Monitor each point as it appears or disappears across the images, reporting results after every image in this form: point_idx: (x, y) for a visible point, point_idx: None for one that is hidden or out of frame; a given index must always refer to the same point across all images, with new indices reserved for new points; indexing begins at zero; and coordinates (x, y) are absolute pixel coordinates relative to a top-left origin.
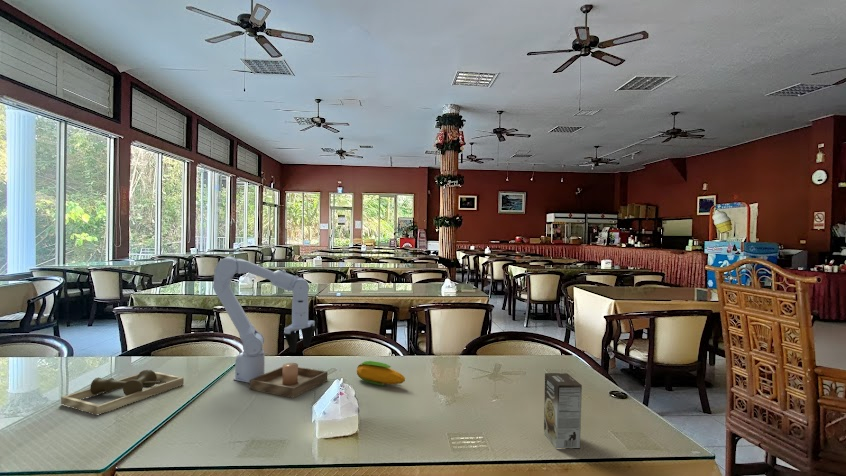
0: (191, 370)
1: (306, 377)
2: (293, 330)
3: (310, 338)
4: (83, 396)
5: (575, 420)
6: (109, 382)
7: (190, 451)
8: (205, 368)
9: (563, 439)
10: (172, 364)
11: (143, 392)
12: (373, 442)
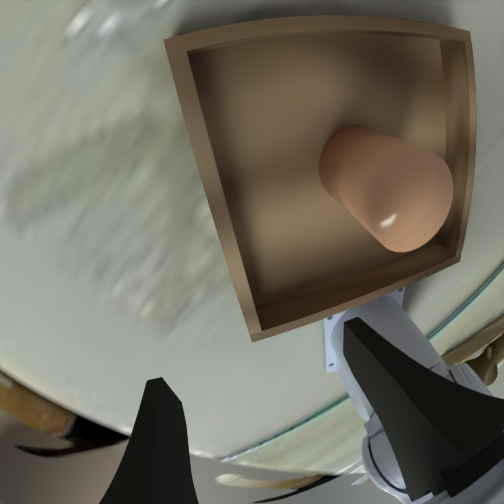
0: (363, 422)
1: (242, 163)
2: (455, 498)
3: (144, 452)
4: None
5: None
6: (495, 369)
7: None
8: (342, 426)
9: None
10: (347, 448)
11: (502, 329)
12: None
